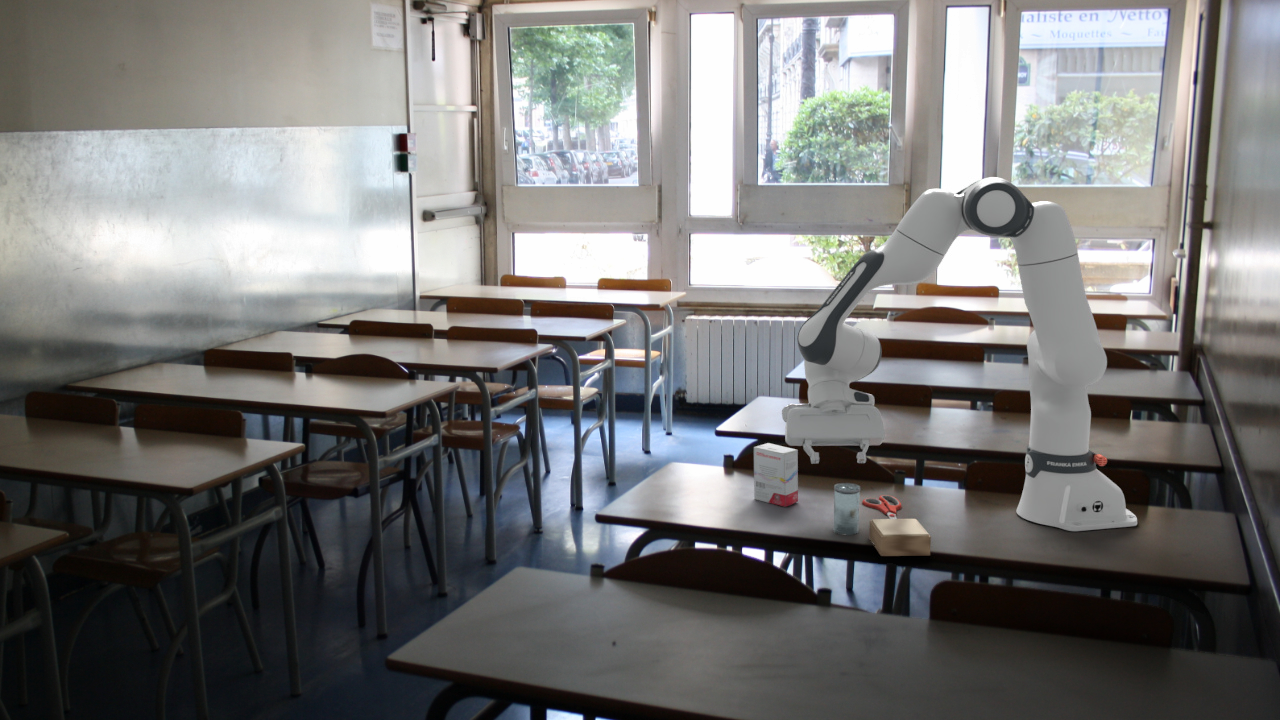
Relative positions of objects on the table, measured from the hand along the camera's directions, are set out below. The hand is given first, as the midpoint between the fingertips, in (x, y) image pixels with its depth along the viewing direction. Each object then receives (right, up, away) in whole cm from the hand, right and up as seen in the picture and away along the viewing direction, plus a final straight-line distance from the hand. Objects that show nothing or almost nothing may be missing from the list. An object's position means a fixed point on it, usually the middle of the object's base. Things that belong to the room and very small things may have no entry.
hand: (838, 462), depth 202 cm
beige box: (+8, -14, -14) cm, 22 cm away
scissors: (+12, -12, +4) cm, 17 cm away
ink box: (-11, -10, +13) cm, 20 cm away
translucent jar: (0, -13, -5) cm, 14 cm away
